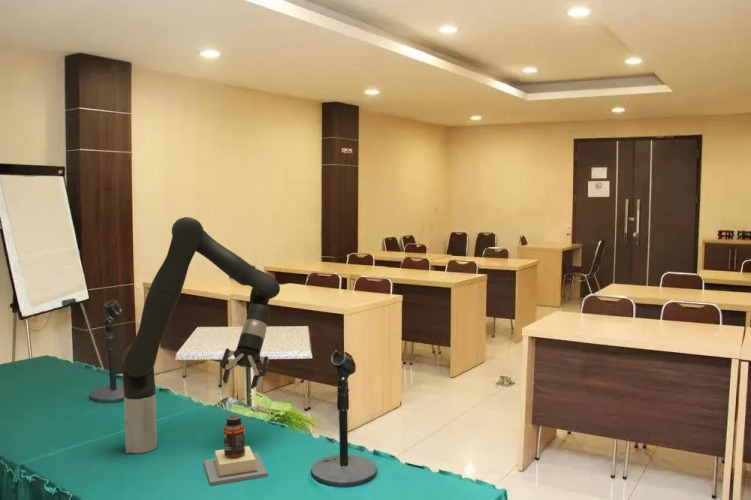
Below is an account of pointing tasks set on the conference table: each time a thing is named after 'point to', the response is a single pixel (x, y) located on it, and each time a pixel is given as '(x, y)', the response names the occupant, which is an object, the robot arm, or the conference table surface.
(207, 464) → the board
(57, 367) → the conference table surface
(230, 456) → the supplement bottle
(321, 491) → the conference table surface
